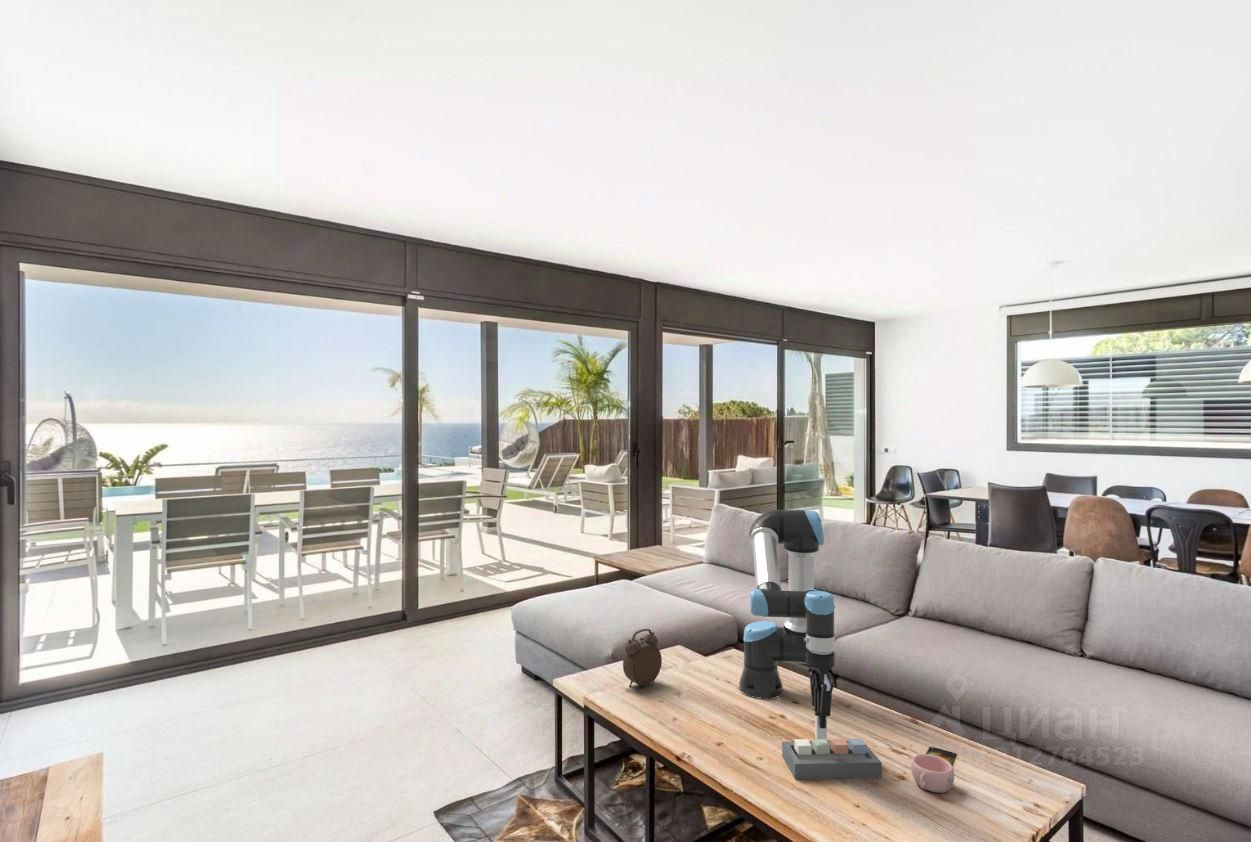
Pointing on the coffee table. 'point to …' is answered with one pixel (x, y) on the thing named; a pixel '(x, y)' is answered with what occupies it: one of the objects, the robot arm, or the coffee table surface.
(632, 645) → the alarm clock
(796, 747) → the key
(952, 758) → the smartphone
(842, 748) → the key
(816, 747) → the key
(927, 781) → the mug
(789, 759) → the gray rectangular tray
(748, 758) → the coffee table surface
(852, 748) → the key
